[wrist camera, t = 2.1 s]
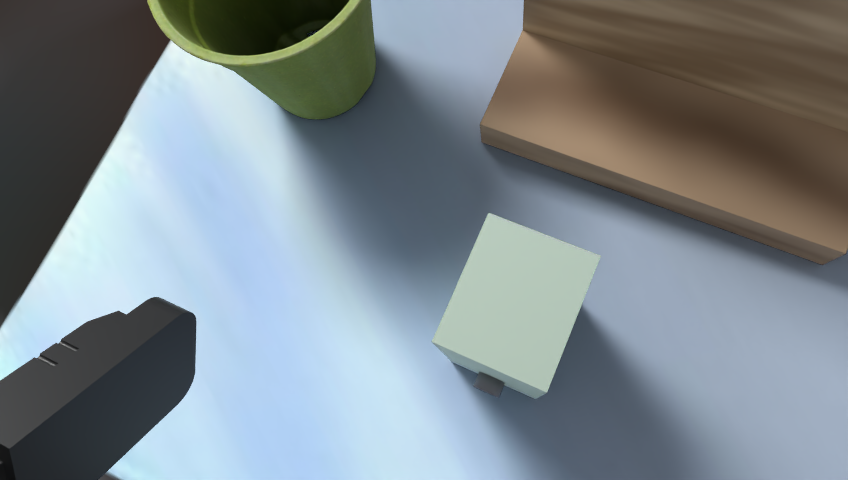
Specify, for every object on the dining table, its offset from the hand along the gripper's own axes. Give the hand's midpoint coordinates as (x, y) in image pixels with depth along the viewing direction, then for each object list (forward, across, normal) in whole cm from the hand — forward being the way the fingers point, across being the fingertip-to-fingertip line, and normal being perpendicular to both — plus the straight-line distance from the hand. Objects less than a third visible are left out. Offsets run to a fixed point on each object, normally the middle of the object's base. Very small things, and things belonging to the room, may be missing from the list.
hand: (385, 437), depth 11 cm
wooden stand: (+31, +4, -3) cm, 32 cm away
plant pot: (+29, -17, -6) cm, 35 cm away
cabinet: (+22, 0, -13) cm, 26 cm away
